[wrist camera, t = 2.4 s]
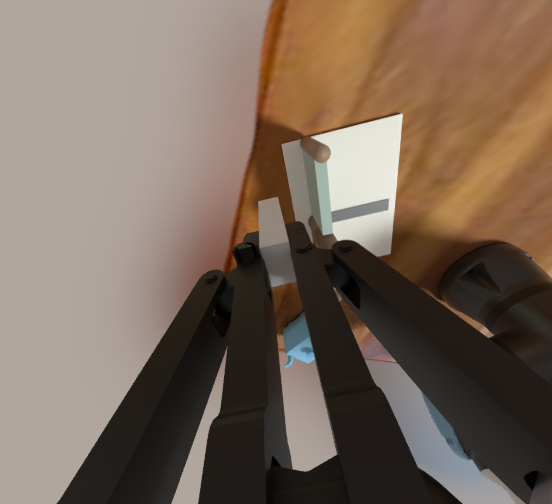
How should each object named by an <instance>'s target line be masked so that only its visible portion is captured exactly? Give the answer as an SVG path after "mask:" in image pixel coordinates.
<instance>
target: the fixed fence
mask: <svg viewBox="0 0 552 504" xmlns="http://www.w3.org/2000/svg"><path fill="white" fill-rule="evenodd" d="M308 224H309V226H310V228H311V231H312V233H313V235H314V238H315V246H316V247H317V248H320V249H331V248H332V245H333V244H334V243H336V242H337V239H336V237H335V236H334V234H333V233H332V234H327V235H323V234H322V232H321V231H320V229H319V227H318V225H317V223H316V221H315V219H314V217H313V215H311V216H310V217H309V219H308ZM334 290H335V293H336V295H337V297H338V300H339V302H340V301H341V300H342V298H341V296H340V294H339V293H338V292H337V291H336V289H335V288H334Z"/></svg>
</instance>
